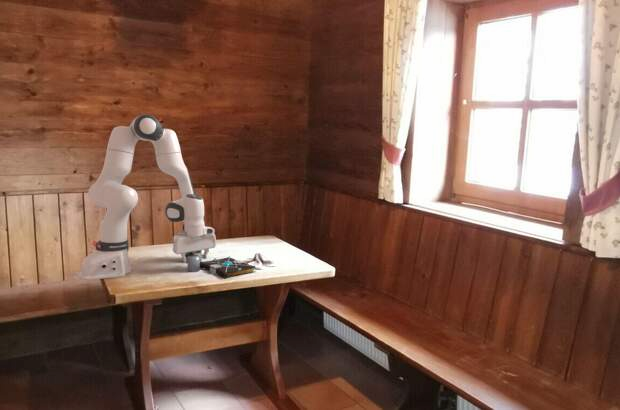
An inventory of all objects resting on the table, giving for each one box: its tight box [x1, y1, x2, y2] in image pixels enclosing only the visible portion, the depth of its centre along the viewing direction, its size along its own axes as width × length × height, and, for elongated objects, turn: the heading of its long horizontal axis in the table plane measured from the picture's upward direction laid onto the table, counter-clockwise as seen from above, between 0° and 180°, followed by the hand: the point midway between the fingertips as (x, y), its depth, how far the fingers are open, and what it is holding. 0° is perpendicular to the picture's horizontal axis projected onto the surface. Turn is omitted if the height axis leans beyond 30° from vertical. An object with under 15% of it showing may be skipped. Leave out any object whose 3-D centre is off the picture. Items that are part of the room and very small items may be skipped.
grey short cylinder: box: [187, 255, 201, 273], centre depth 234 cm, size 5×5×6 cm
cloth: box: [240, 251, 278, 270], centre depth 250 cm, size 22×19×6 cm
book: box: [200, 256, 256, 280], centre depth 238 cm, size 22×17×5 cm
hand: (195, 260), depth 236 cm, fingers open, 8 cm apart
